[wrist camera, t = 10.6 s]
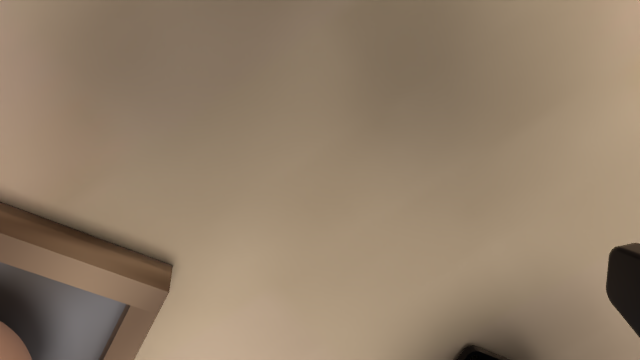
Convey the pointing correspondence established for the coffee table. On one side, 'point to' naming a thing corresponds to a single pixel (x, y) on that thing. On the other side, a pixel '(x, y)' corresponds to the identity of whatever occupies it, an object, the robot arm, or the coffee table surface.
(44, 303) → the walnut tray
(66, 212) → the coffee table surface
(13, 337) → the ball
